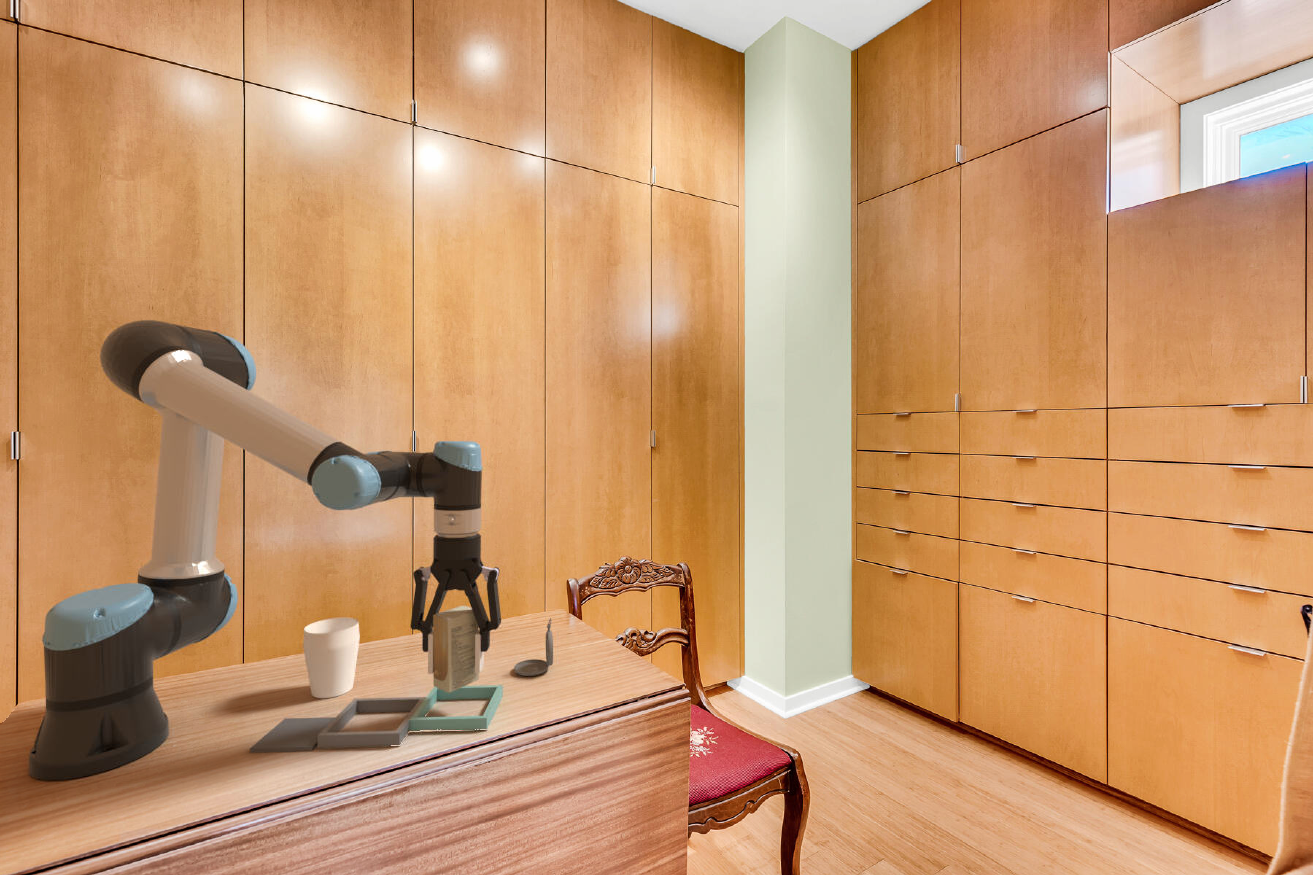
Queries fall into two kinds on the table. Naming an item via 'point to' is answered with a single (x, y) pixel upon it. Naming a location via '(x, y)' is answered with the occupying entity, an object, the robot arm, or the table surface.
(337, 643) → the cup
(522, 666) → the pocket watch
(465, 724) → the teal frame
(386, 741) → the grey frame
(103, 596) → the robot arm
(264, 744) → the slate mat
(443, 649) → the skincare box
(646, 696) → the table surface
